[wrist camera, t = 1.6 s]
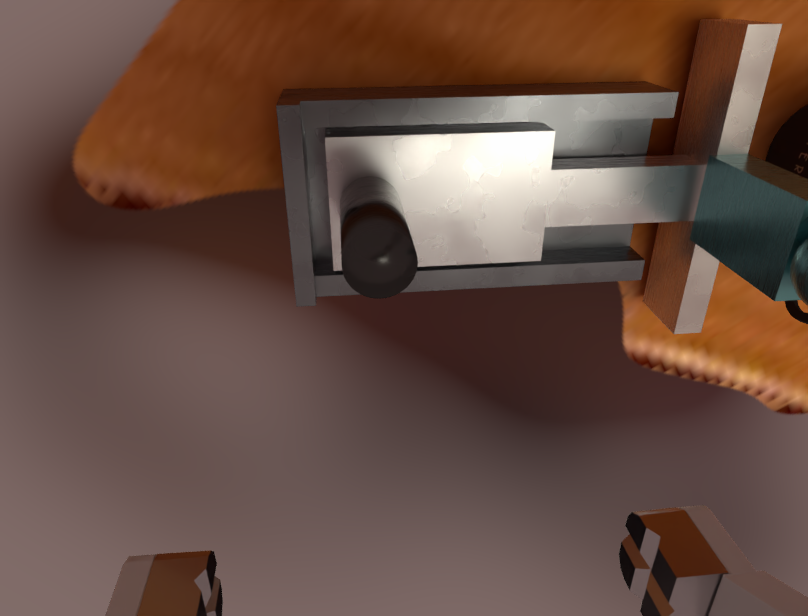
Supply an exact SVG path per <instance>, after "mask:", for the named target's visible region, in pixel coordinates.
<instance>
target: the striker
mask: <svg viewBox="0 0 808 616" xmlns="http://www.w3.org/2000/svg"><path fill="white" fill-rule="evenodd" d="M781 27H782V24H778V23H768V22H758V21H748V20H738V19H701V20H700V24H699V29H698V34H697V39H696V44H695V49H694V54H693V59H692V63H691V68H690V73H689V78H688V83H687V88H686V93H685V97H684V102H683V107H682V112H681V117H680V122H679V127H678V132H677V136H676V141H675V146H674V151H673V155H662V156H632V157H602V158H571V159H552V158H553V149H554V140H555V130H553V129H552V128H550V127H549V126H547V125H546V124H545V123H543V122H538V123H502V124H465V125H429V126H392V127H356V128H325V149H326V164H327V179H328V194H329V209H330V224H331V239H332V254H333V269H334V271H340V270H342V272H343V275H344V278H345V280H346V281H347V283H348V284H349V285H350V287H351V288H352V289H354V290H355V291H356V292H358V293H359V294H361V295H364V296H366V297H370V298H387V297H391V296H394V295H396V294H398V293H400V292H402V291H403V290H404V289H406V288H407V287H408V286H409V285H410V283H411V282H412V281H413V279H414V277H415V275H416V272H417V267H423V266H444V265H465V264H486V263H506V262H527V261H541V256H542V247H543V238H544V229H545V227H562V226H585V225H608V224H632V223H655V222H659V224H658V229H657V234H656V239H655V244H654V248H653V253H652V258H651V263H650V268H649V273H648V278H647V283H646V287H645V292H644V297H643V302H644V303H645V304H646V305H647V306H648V308H649V309H650V310H651V311H652V312H653V313H654V314H655V315H656V316H657V317H658V318H659V319H660V320H661V321H662V322H663V323H664V324H665V325H666V326H667V327H668V328H669V329H670V330H671V331H672V332H673V333H674V334H682V333H699V332H701V330H702V326H703V322H704V318H705V314H706V311H707V307H708V303H709V299H710V295H711V292H712V288H713V284H714V280H715V277H716V273H717V269H718V265H719V261H720V262H722V263H723V264H724V265H726V266H727V267H728V268H730V269H731V270H733V271H734V272H735V273H737V274H738V275H739V276H741V277H742V278H743V279H745V280H746V281H748V282H749V283H750V284H752V285H753V286H754V287H756V288H757V289H759V290H760V291H761V292H763V293H764V294H765V295H767V296H768V297H770V298H771V299H772V300H774V301H788V300H802V301H803V302H804V303H805V304H806V305H808V179H806V178H804V177H802V176H799V175H797V174H794V173H792V172H790V171H787V170H785V169H783V168H780V167H778V166H775V165H773V164H771V163H768V162H766V161H764V160H761V159H759V158H756V157H754V156H752V155H749V154H748V152H749V148H750V144H751V140H752V136H753V133H754V129H755V125H756V121H757V117H758V114H759V110H760V106H761V102H762V99H763V95H764V91H765V87H766V83H767V80H768V76H769V72H770V68H771V64H772V61H773V57H774V53H775V49H776V45H777V42H778V38H779V34H780V30H781Z"/></svg>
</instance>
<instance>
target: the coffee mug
mask: <svg viewBox="0 0 808 616" xmlns="http://www.w3.org/2000/svg"><path fill="white" fill-rule="evenodd" d="M766 162H768V163H771V164H773V165H775V166H778V167H780V168H783V169H785V170H787V171H790V172H792V173H794V174H797V175H799V176H802V177H804V178H806V179H808V105H806V106H805V107H803V108H801V109H800V110H799V111H797V112H796V113H795V114H794V115H792V116H791V117H790V118H789V119H788V120H787V121H786V123H785V124H784V125H783V126H782V127H781V129H780V130H779V131H778V133H777V134H776V136H775V137H774V139H773V141H772V143H771V145H770V147H769V151H768V154H767V157H766ZM785 304H786V308H787V310H788V312H789V313H790V315H791V316H792V317H794V318H795V319H797V320H798V321H800V322H803V323H806V324H808V313H804V312H803V311H802V310H801V309H800V308H799V306H798V301H797V300H788V301H785Z"/></svg>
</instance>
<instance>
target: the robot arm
mask: <svg viewBox="0 0 808 616" xmlns="http://www.w3.org/2000/svg"><path fill="white" fill-rule="evenodd" d="M625 526H626V528H627V530H628V532H629V535H628V536H627V537H626V538H625V539H624V540H623V541H622V542H621V547H620V551H619V559H620V568H621V571H622V574H623V577H624V580H625V582H626V584H627V586H628V588H629V590H630V591H631V592H632V593H634V594H635V595H636V596H638V597H639V598H641V599H642V605H641V610H640V612H641V613H642V615H643V616H808V597H806V596H804V595H803V594H801V593H800V592H798V591H796V590H795V589H793V588H791V587H790V586H788V585H786V584H785V583H783V582H781V581H780V580H778V579H776V578H775V577H773V576H771V575H770V574H768V573H767V572H765V571H756V570H755V569H754V567H753V566H752V565H751V563H750V562H749V561H748V559H747V558H746V557H745V555H744V554H743V553H742V551H741V550H740V549H739V547H738V546H737V545H736V544H735V542H734V541H733V540H732V538H731V537H730V536H729V534H728V533H727V532H726V530H725V529H724V528H723V527H722V525H721V524H720V522H719V521H718V520H717V518H716V517H715V516H714V514H713V513H712V512H711V510H710V509H709V508H707V507H706V506H704V505H700V506H690V507H680V508H666V509H656V510H646V511H637V512H631V513H630V514H629V516H628V517H627V521H626V525H625ZM216 566H217V562H216V558H215V554H214V551H197V552H183V553H166V554H155V555H141V556H129V557H128V559H127V560H126V561H125V563H124V564H123V566H122V570H121V572H120V575H119V578H118V581H117V584H116V587H115V589H114V592H113V595H112V598H111V601H110V604H109V606H108V609H107V612H106V615H105V616H222V605H223V598H222V587H221V582H220V579H218V578H217V577H215V571H216Z"/></svg>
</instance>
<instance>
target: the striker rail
mask: <svg viewBox="0 0 808 616" xmlns="http://www.w3.org/2000/svg"><path fill="white" fill-rule="evenodd" d="M678 94H679V92H677V91H674V90H671V89H667V88H664V87H661V86H658V85H655V84H652V83H649V82H646V81H644V82H597V83H551V84H505V85H459V86H413V87H366V88H320V89H283V91H282V94H281V96H280V98H279V100H278V103H277V105H276V108H277V118H278V128H279V138H280V148H281V158H282V167H283V177H284V187H285V197H286V206H287V217H288V226H289V236H290V246H291V256H292V266H293V276H294V286H295V294H296V306H315V305H316V297H319V296H339V295H358V294H359V293H358V292H356V291H355V290H354V289H352V288H351V287H350V285H349V284H348V283H347V281H346V280H345V278H344V275H343V272H342V270H340V271H334V269H333V254H332V239H331V224H330V209H329V194H328V179H327V164H326V149H325V128H356V127H392V126H429V125H465V124H502V123H538V122H543V123H545V124H546V125H547V126H549V127H550V128H552V129H553V130H555V140H554V149H553V158H552V159H571V158H602V157H632V156H646V154H647V149H648V144H649V138H650V133H651V127H652V122H653V118H674V113H675V108H676V104H677V99H678ZM633 225H634V223H632V224H608V225H585V226H562V227H545V229H544V238H543V247H542V256H541V261H527V262H506V263H486V264H465V265H444V266H423V267H417V272H416V275H415V277H414V279H413V281H412V282H411V283H410V285H409V286H408V287H407V288H406V289H404V290H403V291H402V292H415V291H436V290H454V289H472V288H473V289H474V288H493V287H513V286H531V285H552V284H569V283H570V284H571V283H590V282H608V281H609V282H610V281H629V280H641V278H642V273H643V268H644V263H645V260H644V259H643V258H642V257H641V256H640V255H639V254H638V253H637V252H635V251H634V250H633V249H632V248H631V247H630V241H631V236H632V230H633Z"/></svg>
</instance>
